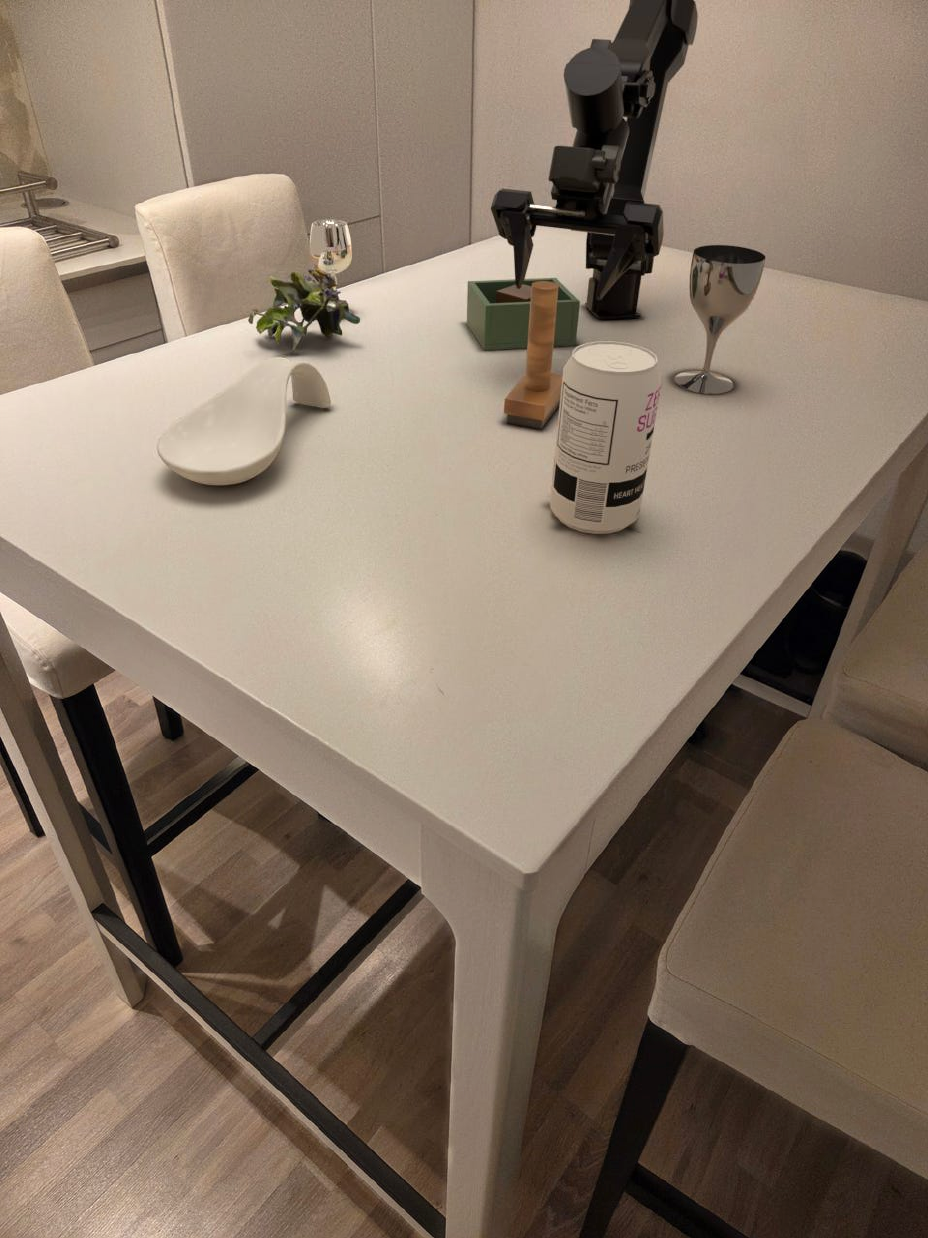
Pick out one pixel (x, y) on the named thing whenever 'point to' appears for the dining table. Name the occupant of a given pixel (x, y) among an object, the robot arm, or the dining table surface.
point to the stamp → (537, 364)
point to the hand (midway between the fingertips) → (557, 292)
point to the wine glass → (719, 302)
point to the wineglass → (330, 246)
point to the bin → (515, 315)
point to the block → (514, 294)
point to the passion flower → (304, 306)
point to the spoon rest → (240, 424)
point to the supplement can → (604, 435)
